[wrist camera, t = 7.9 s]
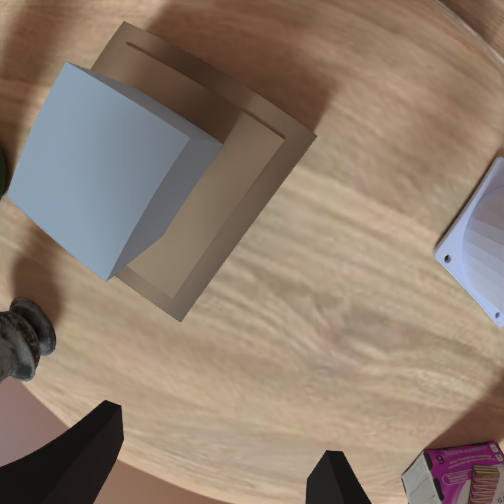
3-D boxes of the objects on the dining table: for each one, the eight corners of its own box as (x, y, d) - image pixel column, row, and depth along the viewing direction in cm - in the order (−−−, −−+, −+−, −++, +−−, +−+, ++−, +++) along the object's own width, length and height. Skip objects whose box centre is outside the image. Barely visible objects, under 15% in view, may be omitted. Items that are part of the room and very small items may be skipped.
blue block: (223, 144, 13) (190, 138, 8) (162, 236, 14) (105, 282, 9) (135, 88, 12) (66, 61, 7) (84, 178, 14) (6, 196, 9)
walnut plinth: (309, 139, 16) (317, 135, 13) (194, 297, 19) (179, 323, 16) (145, 38, 14) (122, 20, 11) (57, 195, 17) (25, 203, 14)
